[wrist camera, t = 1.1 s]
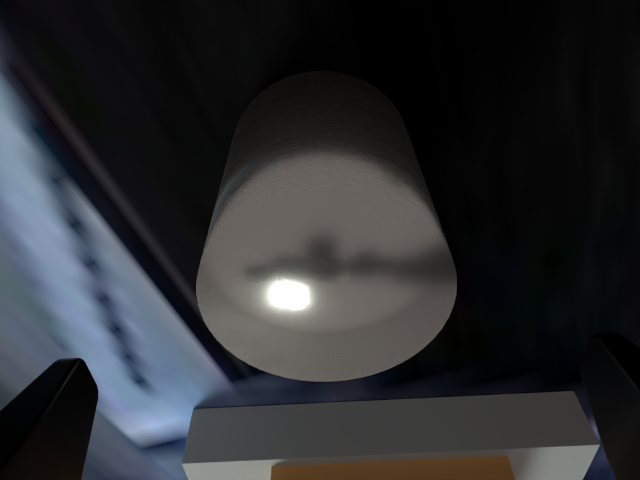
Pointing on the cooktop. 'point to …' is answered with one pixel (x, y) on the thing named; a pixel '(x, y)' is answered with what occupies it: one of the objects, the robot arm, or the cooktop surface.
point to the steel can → (324, 236)
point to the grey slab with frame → (395, 440)
